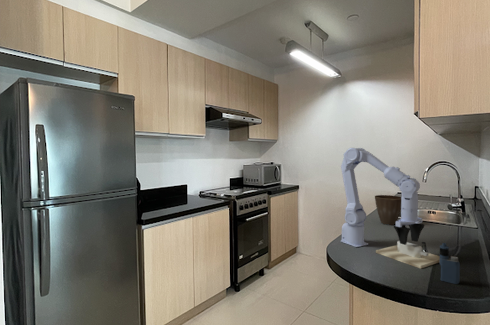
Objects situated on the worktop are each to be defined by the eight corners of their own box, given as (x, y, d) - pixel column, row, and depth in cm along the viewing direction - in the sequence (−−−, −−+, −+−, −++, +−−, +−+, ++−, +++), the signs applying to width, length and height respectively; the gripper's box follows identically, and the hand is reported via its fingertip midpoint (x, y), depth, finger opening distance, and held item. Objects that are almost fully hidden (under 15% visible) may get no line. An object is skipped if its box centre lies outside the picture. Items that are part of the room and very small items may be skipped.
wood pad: (375, 252, 113) (375, 250, 113) (399, 246, 120) (399, 244, 120) (420, 268, 97) (420, 265, 97) (444, 260, 104) (444, 257, 104)
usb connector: (395, 251, 111) (395, 241, 111) (400, 249, 113) (400, 240, 113) (424, 260, 101) (424, 250, 101) (429, 258, 103) (429, 248, 103)
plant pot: (403, 222, 162) (403, 196, 162) (402, 228, 150) (402, 199, 149) (376, 219, 170) (376, 194, 170) (373, 224, 158) (373, 197, 157)
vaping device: (439, 277, 89) (439, 241, 89) (459, 282, 86) (460, 245, 86) (438, 280, 87) (439, 243, 87) (459, 285, 84) (460, 247, 84)
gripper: (408, 212, 101) (407, 248, 101) (430, 208, 108) (429, 242, 108) (390, 209, 107) (390, 243, 108) (412, 205, 114) (412, 237, 114)
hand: (408, 242), depth 108 cm, fingers open, 7 cm apart
